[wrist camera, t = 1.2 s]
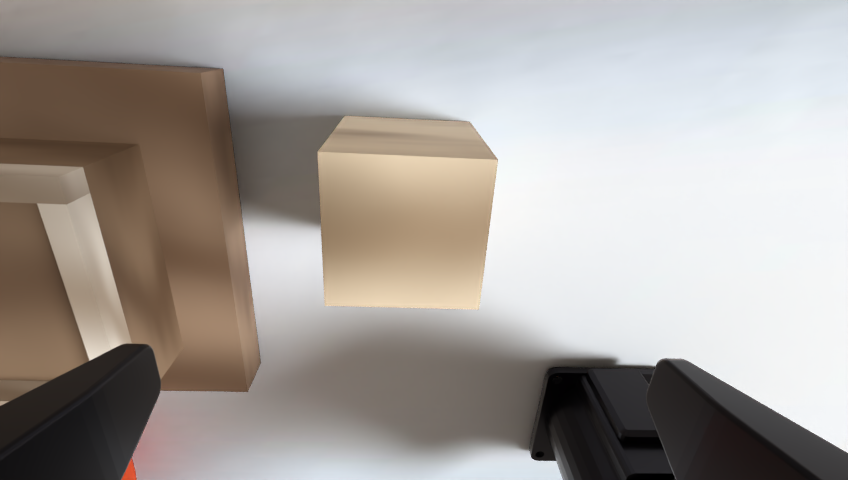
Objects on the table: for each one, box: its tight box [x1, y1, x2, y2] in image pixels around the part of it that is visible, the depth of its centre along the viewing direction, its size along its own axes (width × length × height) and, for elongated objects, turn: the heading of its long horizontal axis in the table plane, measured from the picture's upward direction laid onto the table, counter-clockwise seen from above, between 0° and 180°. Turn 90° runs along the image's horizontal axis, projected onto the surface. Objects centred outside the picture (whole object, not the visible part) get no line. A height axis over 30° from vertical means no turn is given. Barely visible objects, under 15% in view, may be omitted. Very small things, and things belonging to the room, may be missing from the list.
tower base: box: [0, 57, 261, 406], centre depth 16 cm, size 14×14×6 cm
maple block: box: [317, 116, 498, 310], centre depth 16 cm, size 5×5×6 cm
